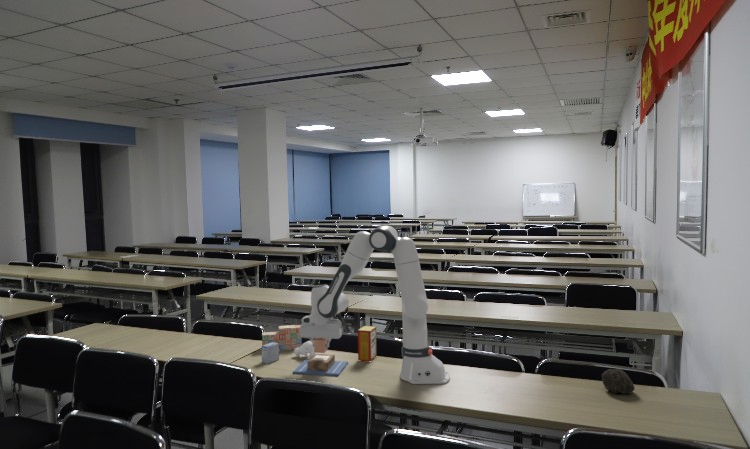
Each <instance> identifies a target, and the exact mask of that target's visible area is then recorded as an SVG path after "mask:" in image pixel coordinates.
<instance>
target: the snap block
mask: <svg viewBox="0 0 750 449" xmlns="http://www.w3.org/2000/svg"><path fill="white" fill-rule="evenodd" d="M313 340H314V353H315V354H325V353H326V352H327V351H328V347H325V344H326V343H328V340H327V338H314V339H313Z"/></svg>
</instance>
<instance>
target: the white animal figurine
mask: <svg viewBox="0 0 750 449" xmlns="http://www.w3.org/2000/svg"><path fill="white" fill-rule="evenodd" d="M293 353H294V355H295V356H296V357H297V356H298V357H300V356H304V357H307V358H306V360H310V359H311V358H312V357H313V356H314V355H315V354H316V353H314V347H313V346H312V342H311V340H307V341H305V342H303V343H302V345H301V346H300V347H299V348H296V349H295V350H293ZM308 354H309V355H308Z"/></svg>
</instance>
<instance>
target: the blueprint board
mask: <svg viewBox="0 0 750 449" xmlns="http://www.w3.org/2000/svg"><path fill="white" fill-rule="evenodd" d="M335 359H336V355H335V354H325V353H315V354H314V356H312V357H311V358H310V359H304V361H302V362H301V363H300V364H299V365H298V367H296V368H295V369H294V370H293V371H292V372H293V373H292V374H294V375H296V374H297V375H312V376H313V375H314V376H316V375H317V376H331V377H334V376H335V377H339V376H340V375H341V373H342V372H343V371H344V369H346V367H347V366H348V365H349V361H345V360H344V361H343V360H342V361H341V360H335ZM346 365H347V366H346Z"/></svg>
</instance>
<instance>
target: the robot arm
mask: <svg viewBox="0 0 750 449" xmlns="http://www.w3.org/2000/svg"><path fill="white" fill-rule="evenodd" d="M374 250H375V251H379V252H384V253H392V255H393V261H394V267H395V271H396V277H397V282H398V287H399V293H400V296H401V297H400V299H401V314H402V315H401V318H402V346H401V357H402V360H401V361H402V363H401V369H400V373H399V378H400V379H401V380H403V381H405V382H407V383H409V384H411V385H424V384H425V385H429V384H430V385H431V384H432V385H435V384H437V385H438V384H440V385H441V384H442V385H443V384H444V385H445V384H447V383H448V382H449V381H450V376H451V375H450V373H449V372H448V371H446V370H445V366H444V363H443V362H442V361H441V360H440V359H438V357H436V356H435V355H433V349H432V346H429V345H428V325H427V322H428V321H427V312H428V311H429V302H428V297H427V293H426V288H425V283H424V280H423V274H422V273H423V272H422V268H421V264H420V263H421V262H420V258H419V253H418V250H417V247H416V245H415V242H414V240H413V239H412V238H411V237H406V236H403V237H400V232H399V230H398V228H396V227H395V226H392V225H389V224H386V225H379V226H378V227H376V228H373V230H372V231H371V232H368V231H364V230H362V231H361V230H360V231H357V232H356V233H355V235H354V236H353V238H352V239H351V241H350V243H349V245H348V247H347V249H346V252H345V254H344V256H343V258H342V260H341V263H340V265H339V267H338V269H337V271H336V273H335V274H334V276H333V278H332V280H331V282H330V284H329V285H328V284H319V285H315V286H313V287H312V289H311V293H310V294H311V295H310V305H311V310H310V314H308V315H305V316H303V317H302V318H301V321H300V322H301V324H300V325H301V326H300V336H301V337H302V338H309V341H311V342H312V346H313V347H314V340H315V339H316V338H327V343H326V344H325V347H327V348H330V343H331V341H332V339H335V340H337V339H338V340H339V339H340V338H341V337H342V333H343V331H342V326H343V325H342V324H343V323H342V321H341V320H340V319H339V318H333V317H335V316H336V315H339V314H340V313H342V312H344V311H345V310H347V308H348V307H349V298H348V296H347V294H345V292H343V291H344V289H345V287H346V286H347V284H348V282H349V281H350V280H351V279H353V278H354V277H356V276H357V275H358V274H360V273H361V272H362V271H363V270H365V268H366V266H367V264H368V262H369V261H370V258H371V255H372V254H373V251H374Z"/></svg>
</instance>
